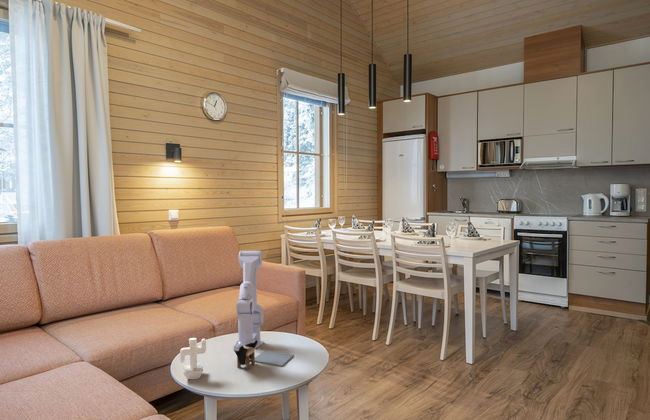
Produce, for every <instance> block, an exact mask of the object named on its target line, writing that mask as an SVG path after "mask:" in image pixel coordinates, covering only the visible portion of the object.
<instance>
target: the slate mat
mask: <svg viewBox="0 0 650 420" xmlns="http://www.w3.org/2000/svg"><path fill="white" fill-rule="evenodd" d="M294 356H295V354H291V353H286V352H278V351H275V350H274V351H273V350H268V349H264V350H263V351H262V352H260V353H259V354H258V355H256V356H255V363H259V364H263V365H270V366H276V367H279V368H280V367H284V366H285V365H286V364H287V363H288V362H289V361H291V360H292V358H294Z"/></svg>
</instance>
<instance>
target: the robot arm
mask: <svg viewBox="0 0 650 420" xmlns="http://www.w3.org/2000/svg"><path fill="white" fill-rule="evenodd" d="M238 263H239V266H240V267H241V268H242V269H243V272H242V274H243V276H242V277H243V278H242V279H243V282H242V283H241V284H240V285H239V293H238V300H237V301H236V317H237V328H238V332H237V333H238V335H237V336H238V339H237V341H236V343H235V344H234V345H233V352H234V353H235V354H236V356H237V357H238V360H239V364H240V365H241V366H246V365H245V360H246V353H247V350H248V349H246V348H244V346H246V347H253V348H254V351H255V349H257V348H258V347H260V346H261V345H263V344H264V343H265V341H263V340H261V326H262V325H264V310H263V309H264V308H263V307H262V306H261V305H260V304H258V283H257V282H258V281H257V280H258V278H257V277H258V276H257V275H258V274H257V273H258V269H260V268H262V266H263V252H262V251H261V249H260V250H239V252H238ZM237 357H236V358H237ZM249 359H251V354H250V355H249Z"/></svg>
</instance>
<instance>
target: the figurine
mask: <svg viewBox="0 0 650 420" xmlns="http://www.w3.org/2000/svg"><path fill="white" fill-rule="evenodd" d="M200 341H201V342H200V343H201V345H198V346H197V343H198V340H197V338H196V337H190V338H189V339H188V344H189V347H182V348H180V351H179V355H180V356H179V361H180V363H185V361H186V359H185V358H186V356H189V363H185V364H184V365H183V370H182V374H183V375H184V377H185V378H186V380H187V379H191V380H198V379H200V378H201V376H202V375H203V371H204V362H198V360H197V356H198V355H200V354H205V353H206V350H207V341H206V338H202V339H201V340H200Z"/></svg>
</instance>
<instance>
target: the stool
mask: <svg viewBox="0 0 650 420" xmlns="http://www.w3.org/2000/svg"><path fill="white" fill-rule="evenodd" d="M244 348H246V349H248V350H247V353H246V360H245V365H244V366H245V370H249V369H250V363H251V366H255V365H256V364H255V363H256V362H255V357H256V355H255V350H254V348H253V347H246V346H244ZM250 354H251V359H249V355H250ZM236 362H237V363H236V365H237V367H236V368H238V369H240V368H242V365H240V364H239V360H238V357H236Z"/></svg>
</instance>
